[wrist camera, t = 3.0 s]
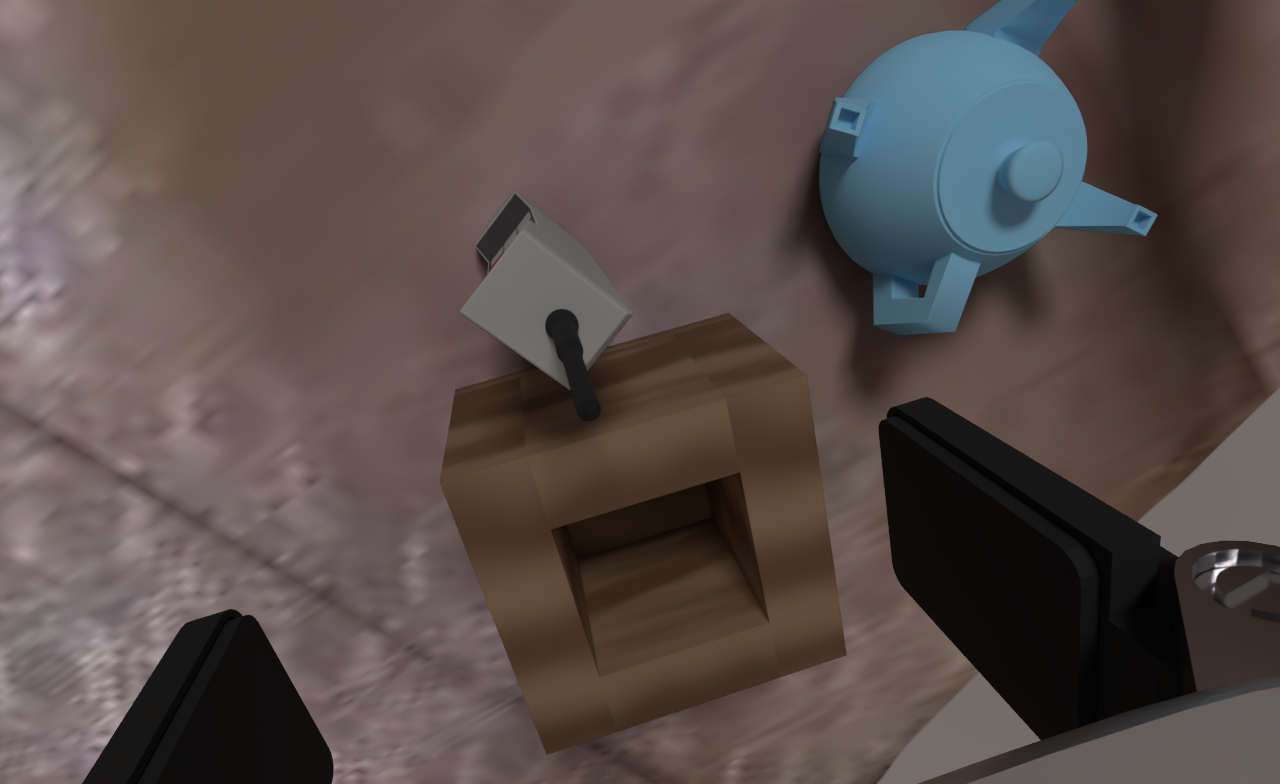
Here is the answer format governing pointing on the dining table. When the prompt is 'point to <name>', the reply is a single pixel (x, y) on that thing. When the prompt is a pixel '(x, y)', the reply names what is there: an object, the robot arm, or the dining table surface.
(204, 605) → the dining table surface
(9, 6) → the dining table surface
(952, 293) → the teapot
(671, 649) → the well block
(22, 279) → the dining table surface
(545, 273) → the vintage mobile phone
